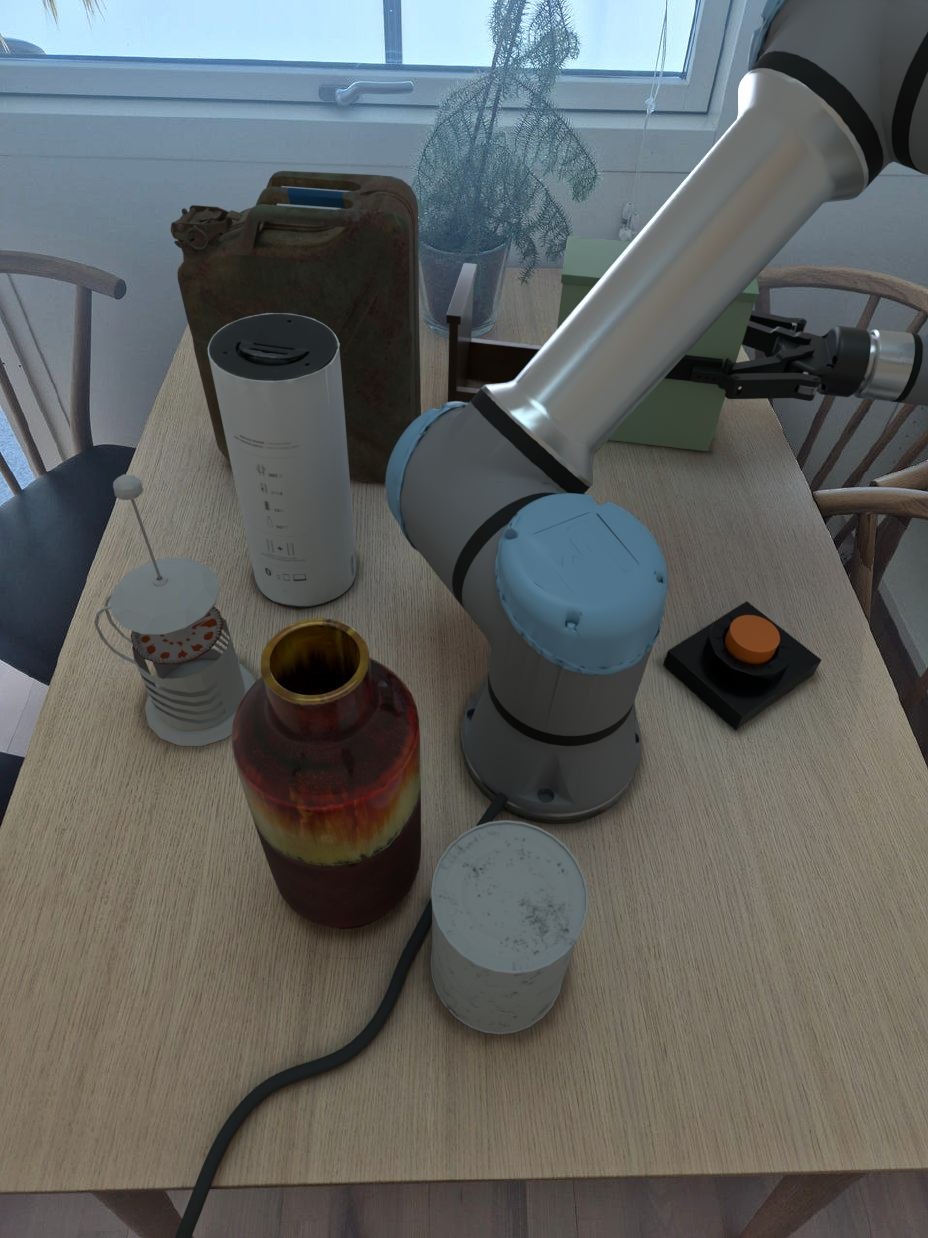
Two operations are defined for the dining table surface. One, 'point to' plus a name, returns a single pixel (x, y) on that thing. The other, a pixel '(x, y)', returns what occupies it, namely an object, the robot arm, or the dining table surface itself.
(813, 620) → the dining table surface
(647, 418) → the storage box
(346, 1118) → the dining table surface
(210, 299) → the container
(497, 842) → the pale grey cylinder
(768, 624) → the button
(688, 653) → the button block
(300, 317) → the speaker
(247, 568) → the dining table surface
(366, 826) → the vase
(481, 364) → the rack
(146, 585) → the french press
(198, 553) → the dining table surface
